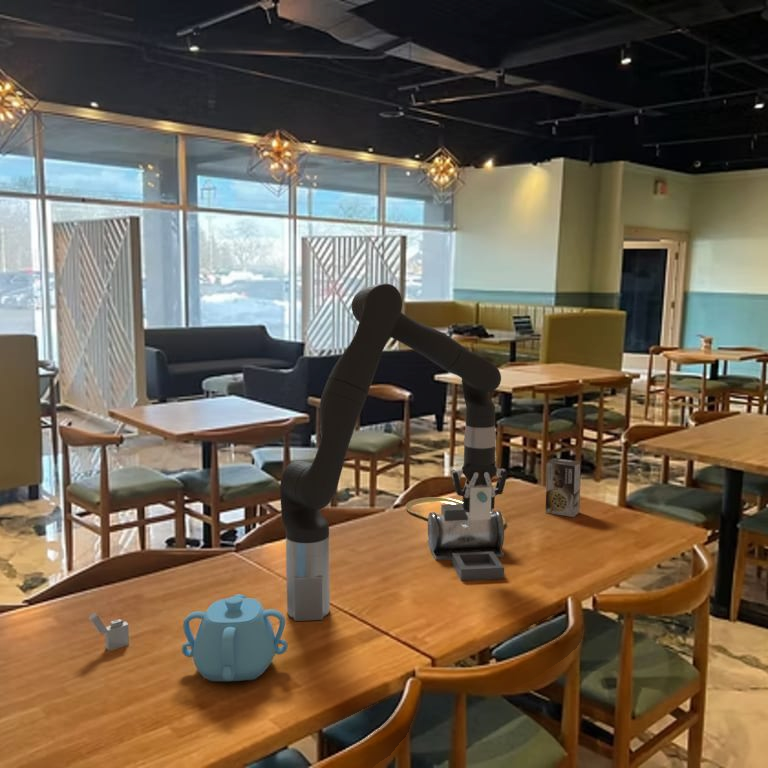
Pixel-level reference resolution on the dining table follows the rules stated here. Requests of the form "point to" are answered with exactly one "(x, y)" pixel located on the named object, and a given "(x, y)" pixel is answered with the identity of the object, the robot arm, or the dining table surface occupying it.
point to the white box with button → (480, 502)
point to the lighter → (112, 632)
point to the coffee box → (563, 487)
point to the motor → (463, 533)
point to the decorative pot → (234, 639)
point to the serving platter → (432, 499)
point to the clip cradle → (477, 566)
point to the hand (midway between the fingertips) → (478, 510)
